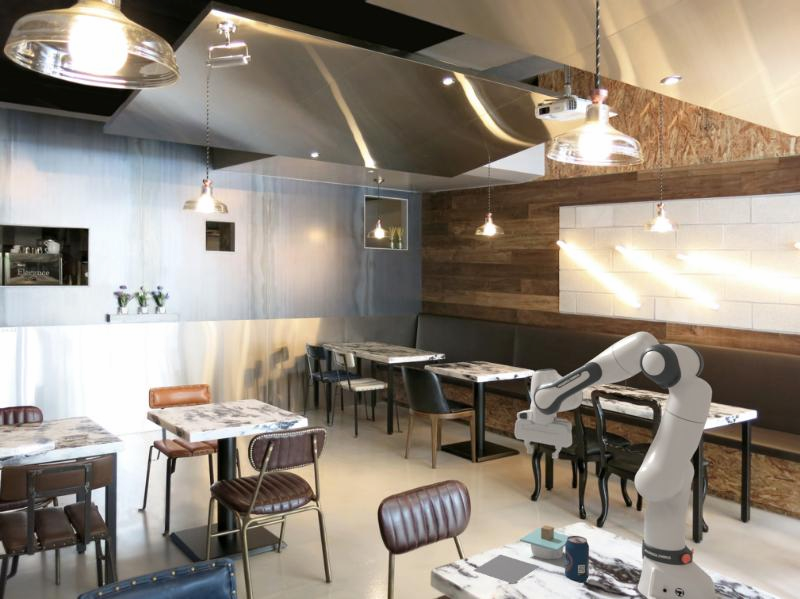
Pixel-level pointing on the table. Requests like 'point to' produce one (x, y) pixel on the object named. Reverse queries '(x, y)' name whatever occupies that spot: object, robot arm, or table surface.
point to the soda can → (577, 558)
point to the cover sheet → (545, 543)
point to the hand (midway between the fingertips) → (542, 455)
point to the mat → (506, 568)
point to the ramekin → (546, 552)
